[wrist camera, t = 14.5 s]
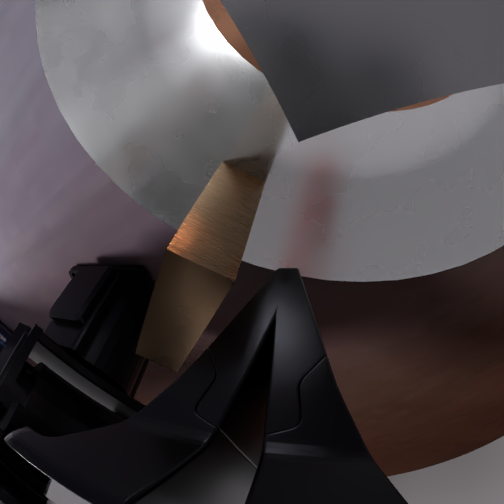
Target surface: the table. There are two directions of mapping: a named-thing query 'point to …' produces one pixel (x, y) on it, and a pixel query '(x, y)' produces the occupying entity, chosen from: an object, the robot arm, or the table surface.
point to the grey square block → (369, 54)
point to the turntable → (262, 161)
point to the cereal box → (4, 336)
